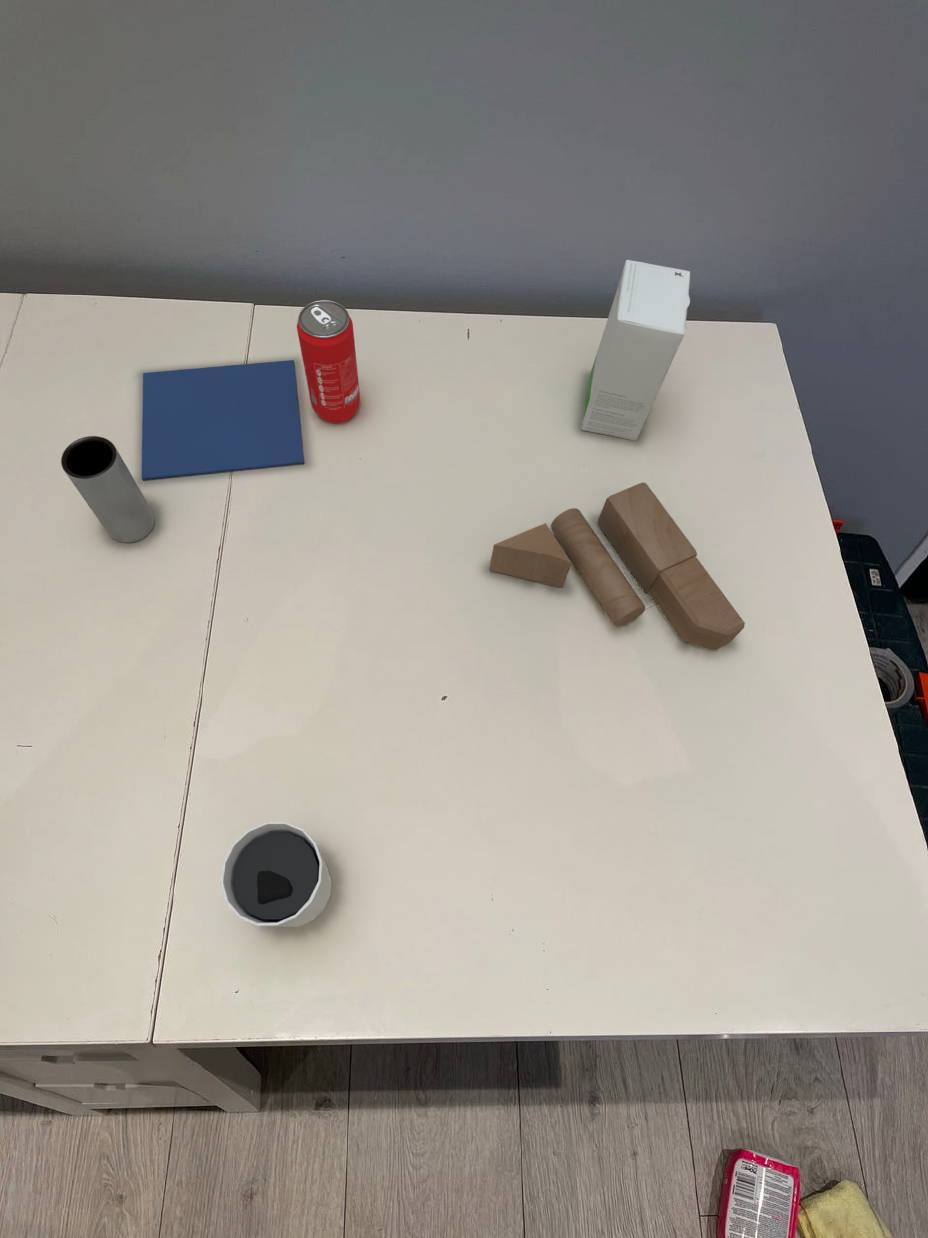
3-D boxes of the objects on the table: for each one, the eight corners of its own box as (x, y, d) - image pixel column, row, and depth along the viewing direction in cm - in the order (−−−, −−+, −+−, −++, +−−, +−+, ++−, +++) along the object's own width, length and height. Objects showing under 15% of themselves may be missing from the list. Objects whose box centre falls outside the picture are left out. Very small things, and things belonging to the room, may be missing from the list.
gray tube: (116, 501, 72) (72, 431, 63) (161, 507, 72) (124, 439, 63) (100, 539, 70) (51, 474, 61) (146, 546, 70) (105, 482, 61)
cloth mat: (142, 480, 74) (141, 478, 73) (144, 375, 79) (143, 372, 79) (304, 463, 76) (303, 461, 75) (294, 362, 81) (293, 359, 81)
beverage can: (331, 434, 77) (317, 347, 67) (302, 404, 79) (284, 314, 68) (370, 410, 79) (363, 321, 68) (341, 381, 81) (329, 290, 70)
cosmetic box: (589, 375, 83) (624, 254, 69) (647, 387, 83) (693, 267, 69) (579, 433, 79) (614, 317, 65) (640, 444, 79) (687, 331, 65)
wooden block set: (643, 466, 71) (756, 617, 64) (627, 500, 76) (731, 644, 69) (488, 529, 67) (593, 699, 60) (483, 561, 72) (579, 720, 65)
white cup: (342, 923, 57) (328, 914, 48) (255, 942, 56) (224, 937, 47) (331, 836, 60) (315, 812, 51) (248, 853, 59) (216, 832, 50)
